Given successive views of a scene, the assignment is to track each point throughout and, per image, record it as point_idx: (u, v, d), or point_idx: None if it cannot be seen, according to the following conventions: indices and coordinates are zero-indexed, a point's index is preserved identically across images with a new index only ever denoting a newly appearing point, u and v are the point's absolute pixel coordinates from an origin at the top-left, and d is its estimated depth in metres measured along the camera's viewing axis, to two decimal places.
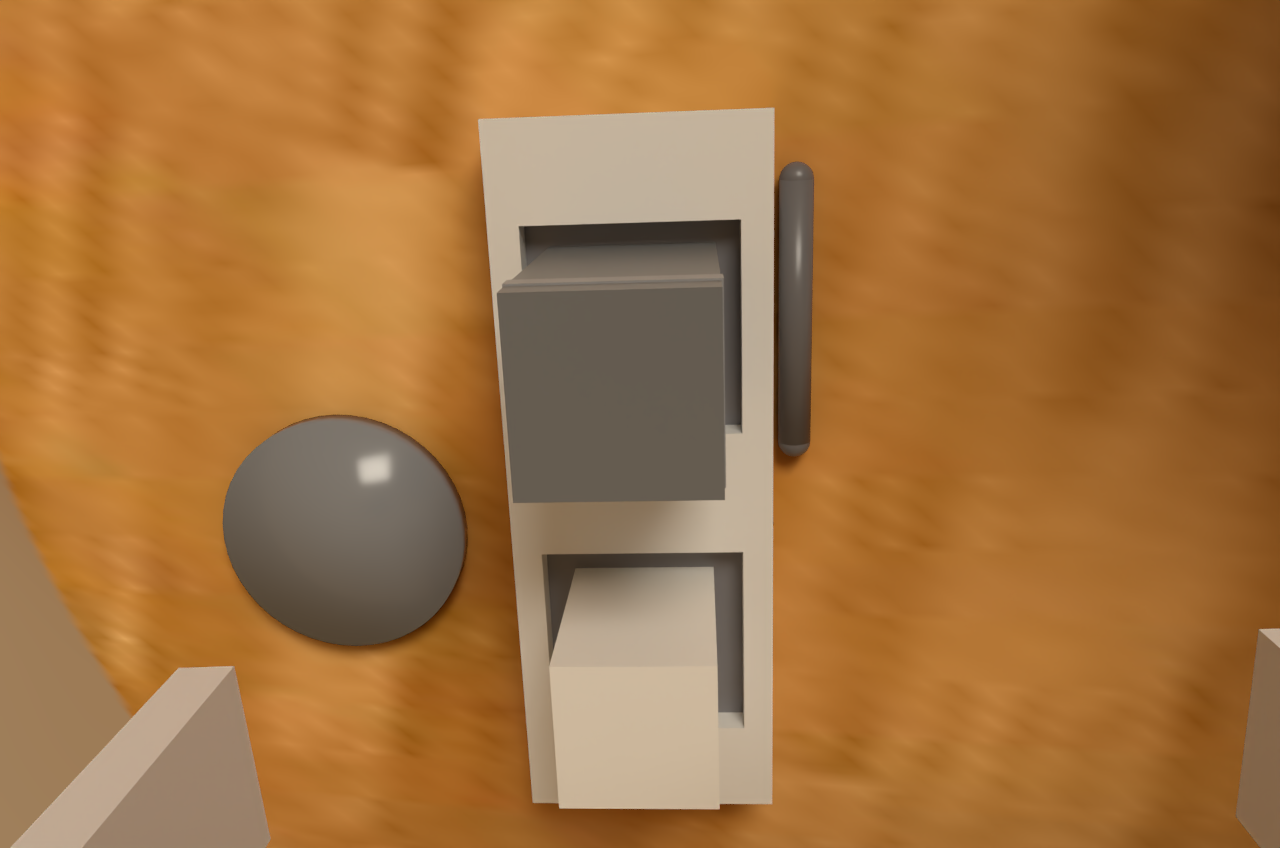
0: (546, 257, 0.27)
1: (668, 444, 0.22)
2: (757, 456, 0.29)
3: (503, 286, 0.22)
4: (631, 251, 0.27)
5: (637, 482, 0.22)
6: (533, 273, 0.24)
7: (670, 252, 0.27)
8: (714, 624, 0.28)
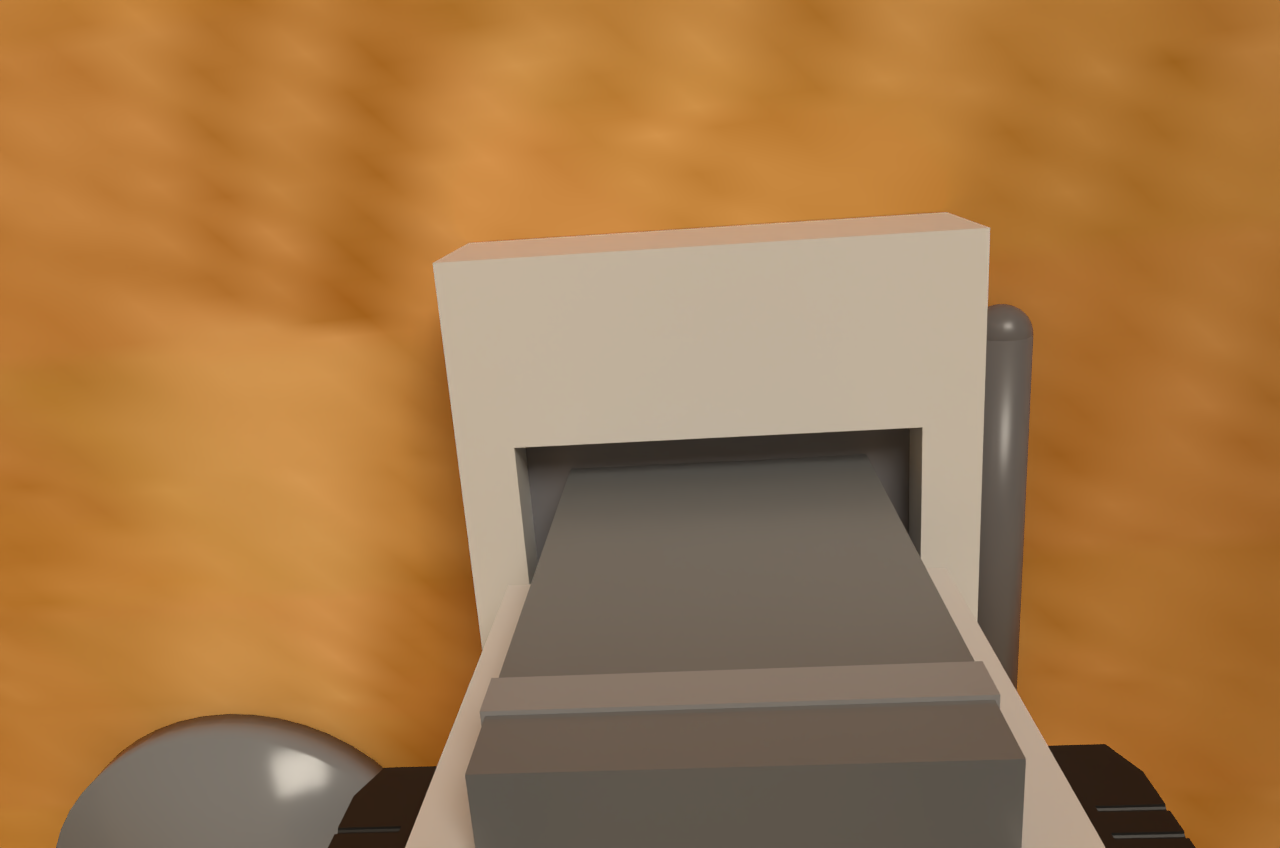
0: (569, 524, 0.14)
1: None
2: None
3: (483, 719, 0.10)
4: (725, 497, 0.15)
5: None
6: (548, 621, 0.11)
7: (802, 506, 0.14)
8: None
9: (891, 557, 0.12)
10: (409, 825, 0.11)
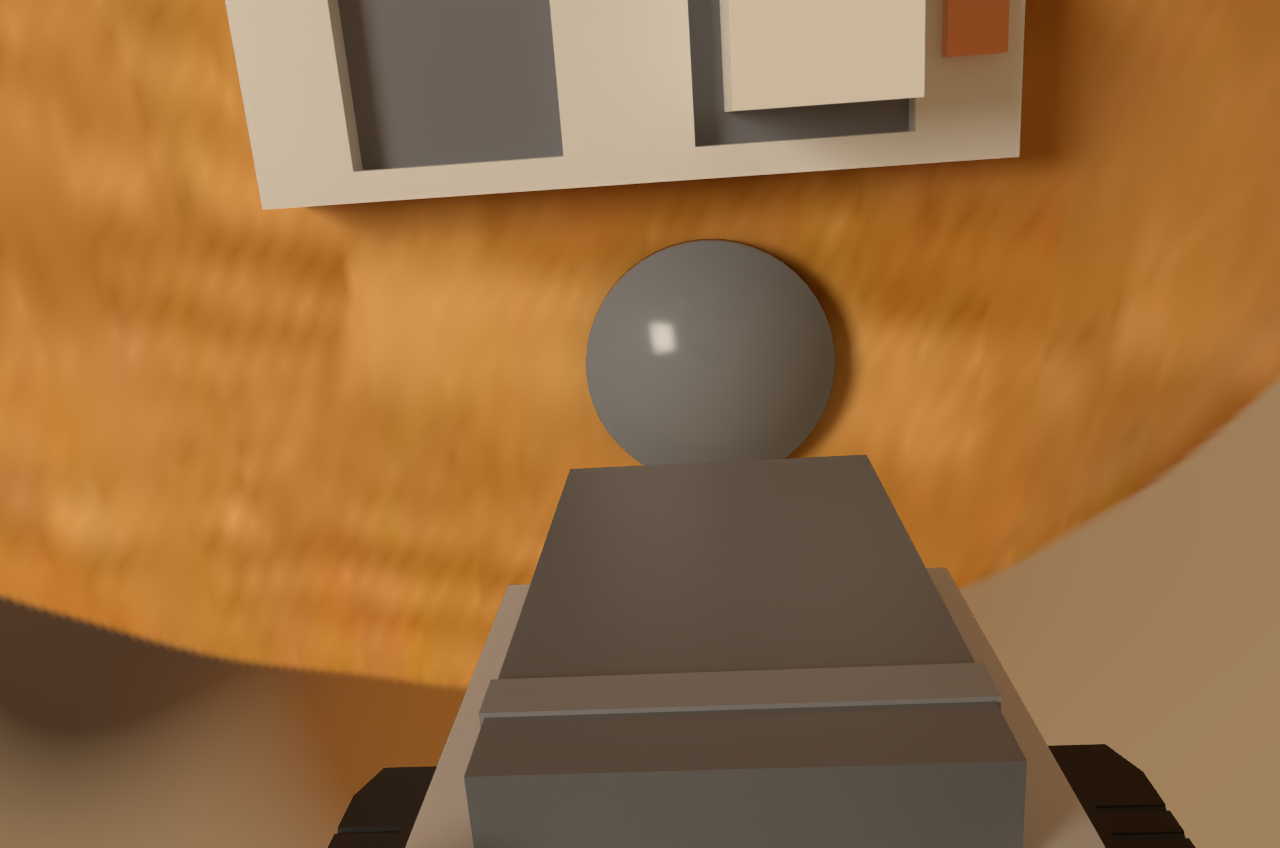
0: (569, 525, 0.14)
1: None
2: None
3: (482, 720, 0.09)
4: (725, 498, 0.15)
5: None
6: (548, 622, 0.11)
7: (802, 506, 0.14)
8: None
9: (891, 558, 0.12)
10: (409, 825, 0.11)
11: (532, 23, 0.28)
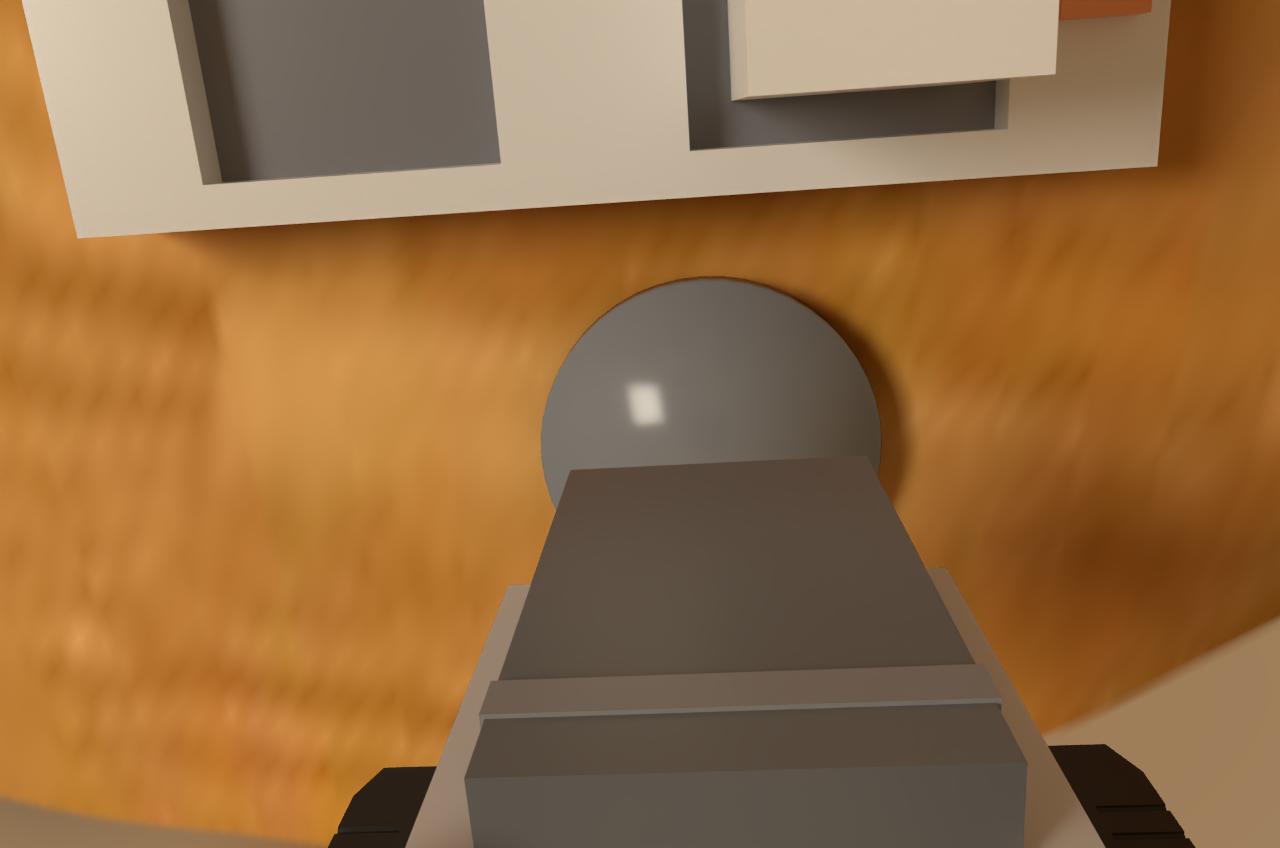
0: (569, 526, 0.14)
1: None
2: None
3: (482, 722, 0.09)
4: (725, 499, 0.15)
5: None
6: (548, 623, 0.11)
7: (803, 507, 0.14)
8: None
9: (892, 559, 0.12)
10: (409, 825, 0.11)
11: None
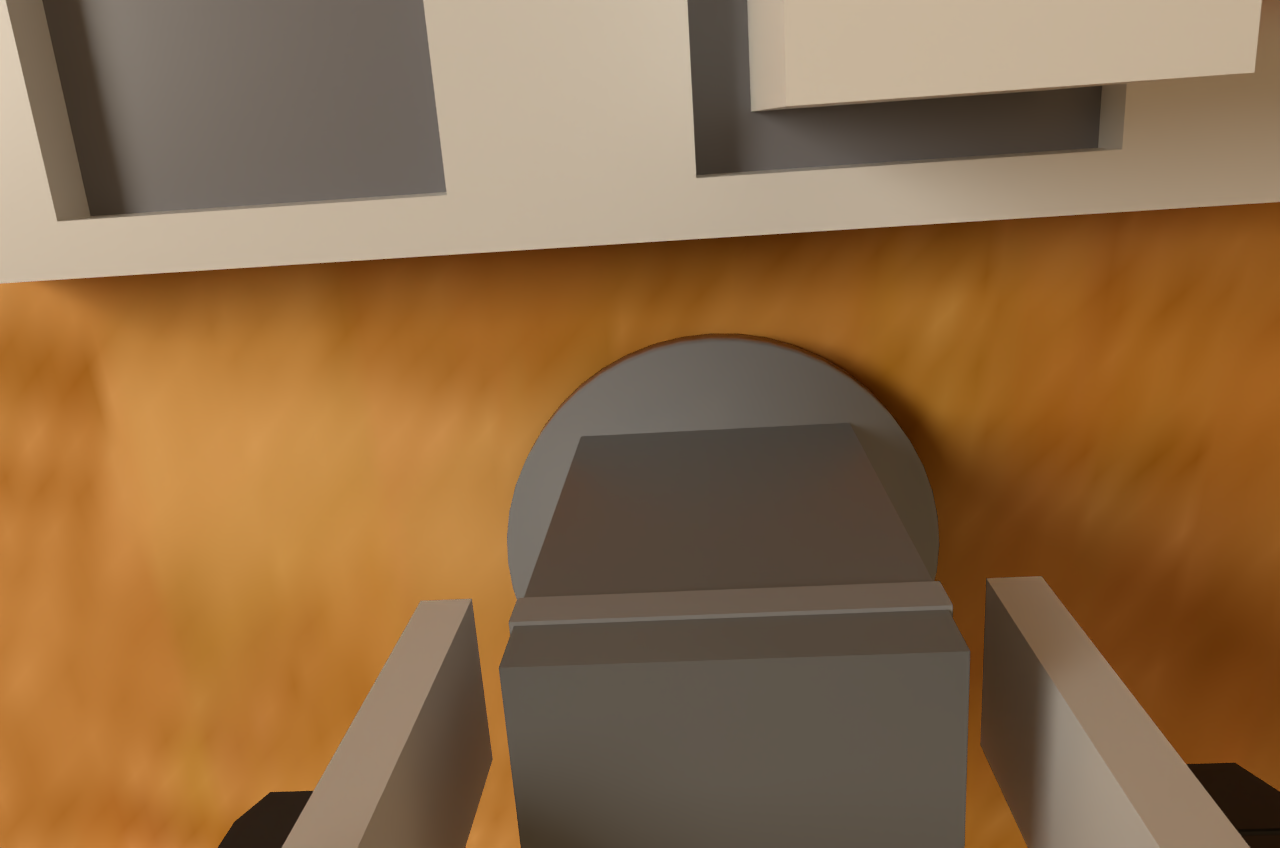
0: (581, 481, 0.16)
1: None
2: None
3: (512, 628, 0.11)
4: (721, 458, 0.16)
5: None
6: (565, 556, 0.13)
7: (790, 464, 0.16)
8: None
9: (867, 504, 0.14)
10: None
11: None
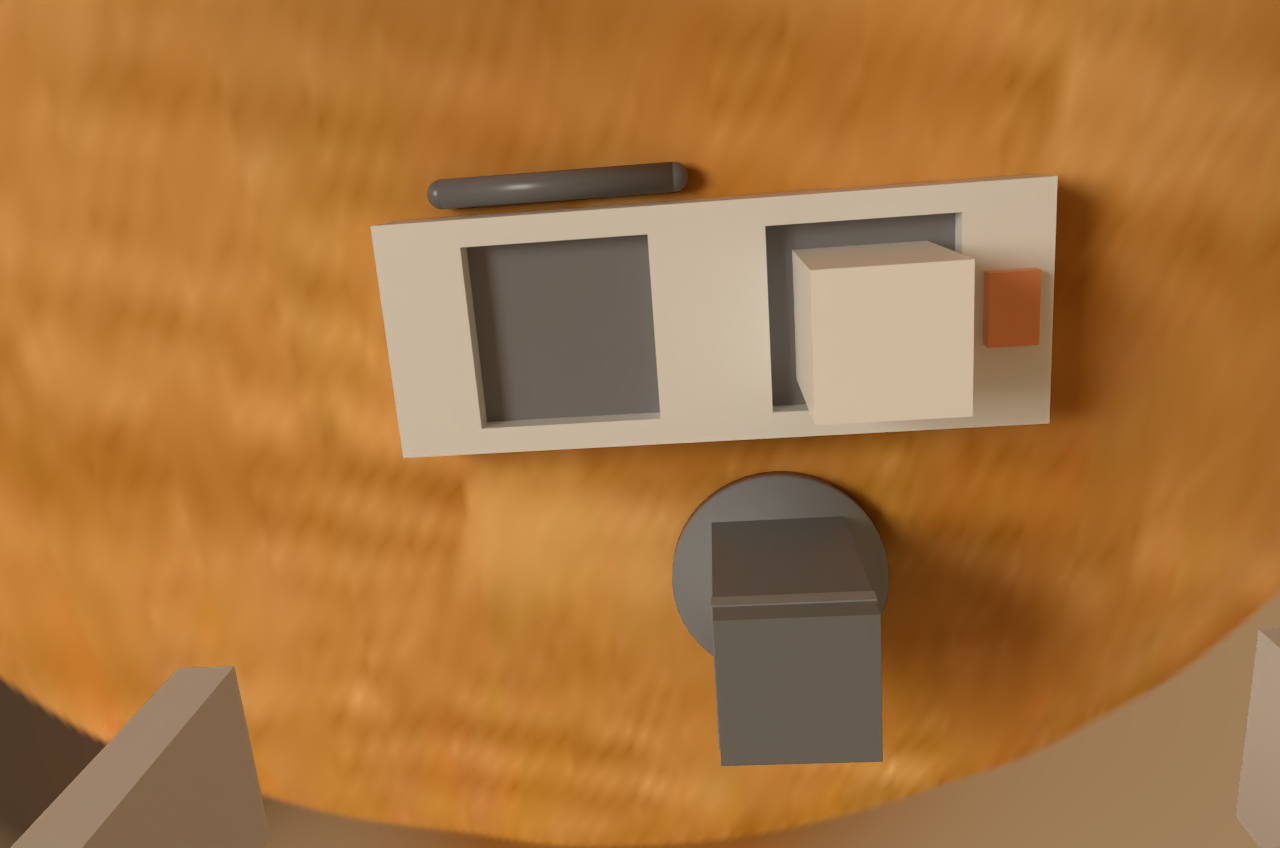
0: (719, 546, 0.34)
1: (839, 723, 0.29)
2: (668, 219, 0.32)
3: (712, 608, 0.30)
4: (782, 535, 0.35)
5: (816, 750, 0.30)
6: (723, 581, 0.31)
7: (815, 539, 0.34)
8: (802, 262, 0.29)
9: (849, 559, 0.32)
10: None
11: (635, 308, 0.34)
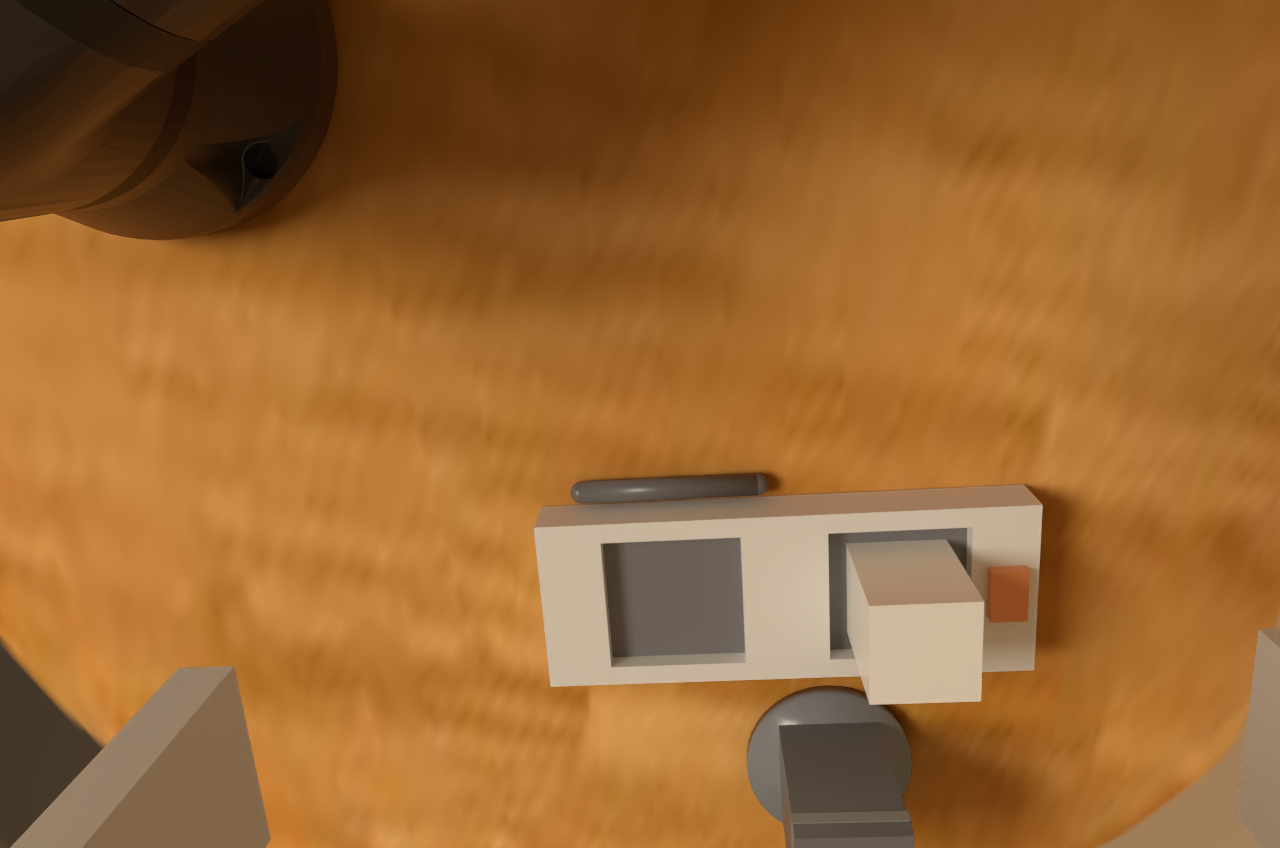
0: (788, 755, 0.46)
1: None
2: (757, 527, 0.43)
3: (792, 824, 0.41)
4: (835, 743, 0.47)
5: None
6: (797, 794, 0.43)
7: (859, 749, 0.46)
8: (859, 581, 0.41)
9: (886, 773, 0.44)
10: None
11: (727, 580, 0.45)
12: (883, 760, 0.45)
